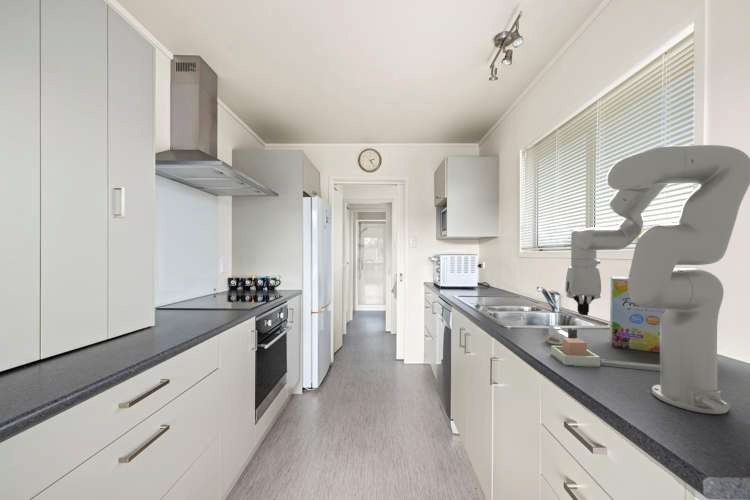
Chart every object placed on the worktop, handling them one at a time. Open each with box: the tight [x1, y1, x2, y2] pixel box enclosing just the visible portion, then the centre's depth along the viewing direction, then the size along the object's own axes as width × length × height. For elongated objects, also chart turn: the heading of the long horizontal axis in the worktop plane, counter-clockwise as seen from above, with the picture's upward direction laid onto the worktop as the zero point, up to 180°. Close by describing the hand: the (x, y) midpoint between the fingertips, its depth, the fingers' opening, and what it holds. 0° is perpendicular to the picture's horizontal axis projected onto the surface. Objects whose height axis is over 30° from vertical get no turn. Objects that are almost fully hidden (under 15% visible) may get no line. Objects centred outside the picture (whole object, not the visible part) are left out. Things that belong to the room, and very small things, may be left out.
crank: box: [548, 325, 578, 342], centre depth 111 cm, size 16×4×7 cm, turn 173°
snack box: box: [609, 275, 666, 354], centre depth 109 cm, size 22×9×26 cm, turn 57°
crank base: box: [545, 337, 562, 346], centre depth 117 cm, size 6×6×1 cm
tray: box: [550, 345, 601, 368], centre depth 98 cm, size 10×10×3 cm
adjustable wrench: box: [600, 358, 660, 372], centre depth 92 cm, size 25×6×2 cm, turn 64°
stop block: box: [561, 337, 588, 356], centre depth 98 cm, size 5×5×6 cm
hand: (583, 314), depth 109 cm, fingers closed
